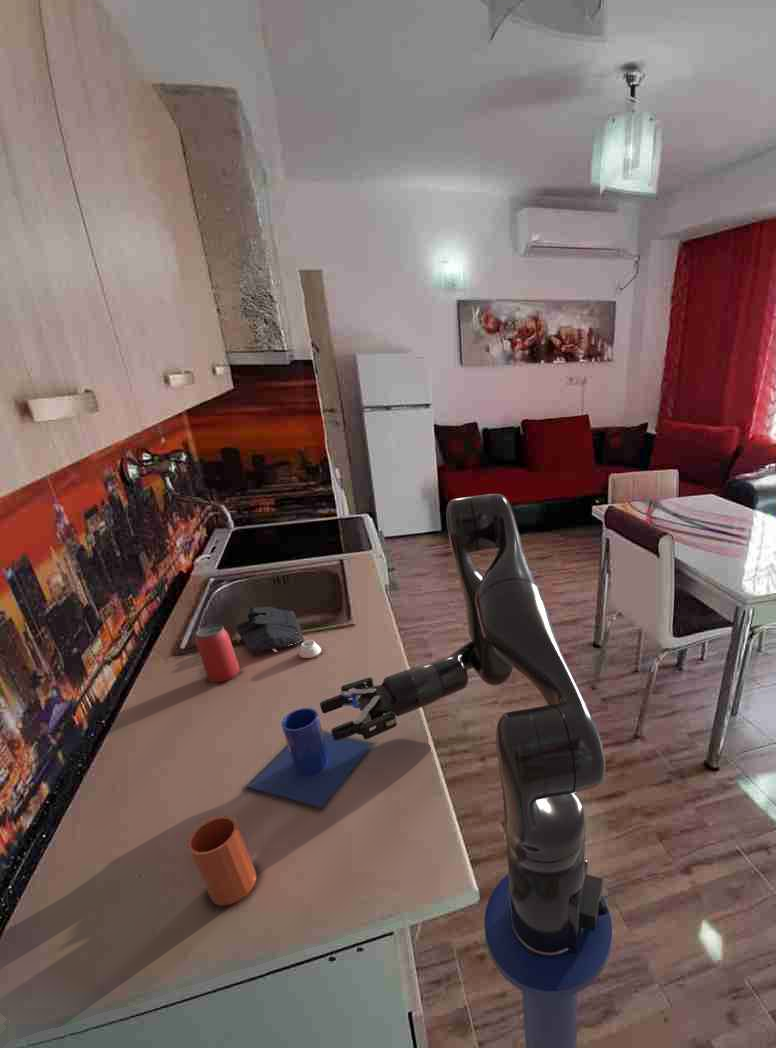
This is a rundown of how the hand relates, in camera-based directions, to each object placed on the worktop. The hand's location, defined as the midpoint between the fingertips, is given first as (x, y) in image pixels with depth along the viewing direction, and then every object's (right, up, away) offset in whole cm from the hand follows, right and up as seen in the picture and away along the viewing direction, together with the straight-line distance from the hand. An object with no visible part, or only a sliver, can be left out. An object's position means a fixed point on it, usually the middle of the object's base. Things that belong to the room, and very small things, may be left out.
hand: (326, 721), depth 89 cm
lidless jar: (-16, +7, +36) cm, 40 cm away
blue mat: (-3, -8, +2) cm, 9 cm away
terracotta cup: (-7, -18, -18) cm, 26 cm away
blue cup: (-3, -8, +2) cm, 9 cm away
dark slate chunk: (-30, +10, +46) cm, 56 cm away
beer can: (-34, +3, +30) cm, 45 cm away
